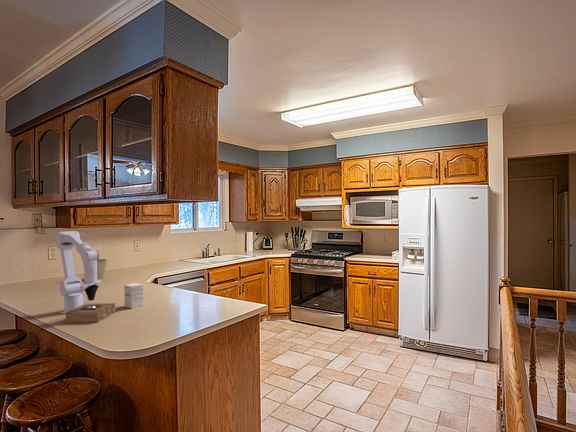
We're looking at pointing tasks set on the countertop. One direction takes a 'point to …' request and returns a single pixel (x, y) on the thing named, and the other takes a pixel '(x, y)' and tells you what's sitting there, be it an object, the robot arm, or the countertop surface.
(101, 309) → the walnut block
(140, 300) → the supplement box
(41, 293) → the countertop surface
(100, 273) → the plant pot
